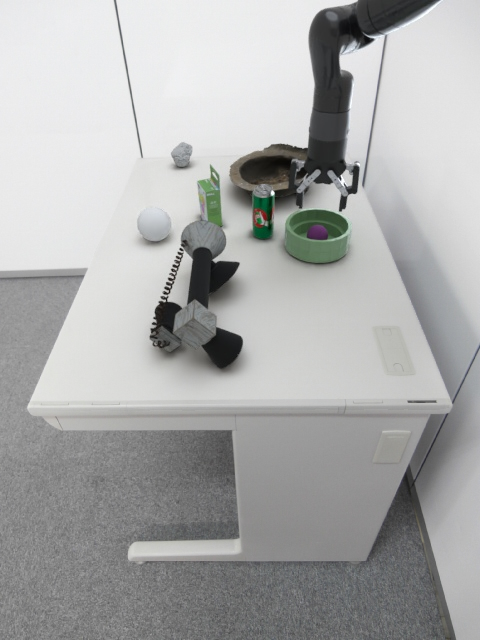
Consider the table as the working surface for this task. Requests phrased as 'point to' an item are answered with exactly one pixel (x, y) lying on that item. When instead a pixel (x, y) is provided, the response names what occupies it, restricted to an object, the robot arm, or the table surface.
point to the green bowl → (317, 249)
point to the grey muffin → (182, 154)
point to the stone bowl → (269, 169)
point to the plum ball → (317, 233)
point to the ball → (154, 223)
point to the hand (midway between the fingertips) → (320, 208)
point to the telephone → (198, 298)
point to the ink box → (210, 198)
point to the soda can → (263, 211)
